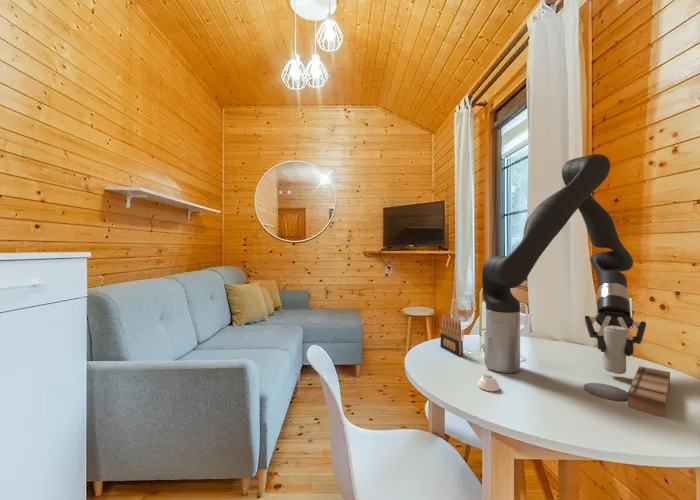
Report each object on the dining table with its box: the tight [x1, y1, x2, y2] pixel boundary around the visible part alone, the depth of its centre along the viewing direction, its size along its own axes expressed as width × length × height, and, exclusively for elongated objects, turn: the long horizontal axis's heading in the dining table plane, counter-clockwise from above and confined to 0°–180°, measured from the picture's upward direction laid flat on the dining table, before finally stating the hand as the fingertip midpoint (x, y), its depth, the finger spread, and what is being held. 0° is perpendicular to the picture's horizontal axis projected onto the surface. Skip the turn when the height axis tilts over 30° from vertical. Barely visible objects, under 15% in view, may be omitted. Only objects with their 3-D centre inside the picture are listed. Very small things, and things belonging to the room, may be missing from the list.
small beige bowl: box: [477, 374, 500, 392], centre depth 81 cm, size 5×3×5 cm
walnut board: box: [626, 365, 671, 417], centre depth 78 cm, size 24×6×3 cm, turn 133°
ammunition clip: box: [439, 313, 464, 357], centre depth 110 cm, size 11×2×12 cm, turn 17°
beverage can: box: [603, 326, 627, 375], centre depth 88 cm, size 5×5×12 cm
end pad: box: [583, 382, 628, 402], centre depth 79 cm, size 9×9×1 cm
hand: (615, 352), depth 86 cm, fingers closed on beverage can, 4 cm apart
